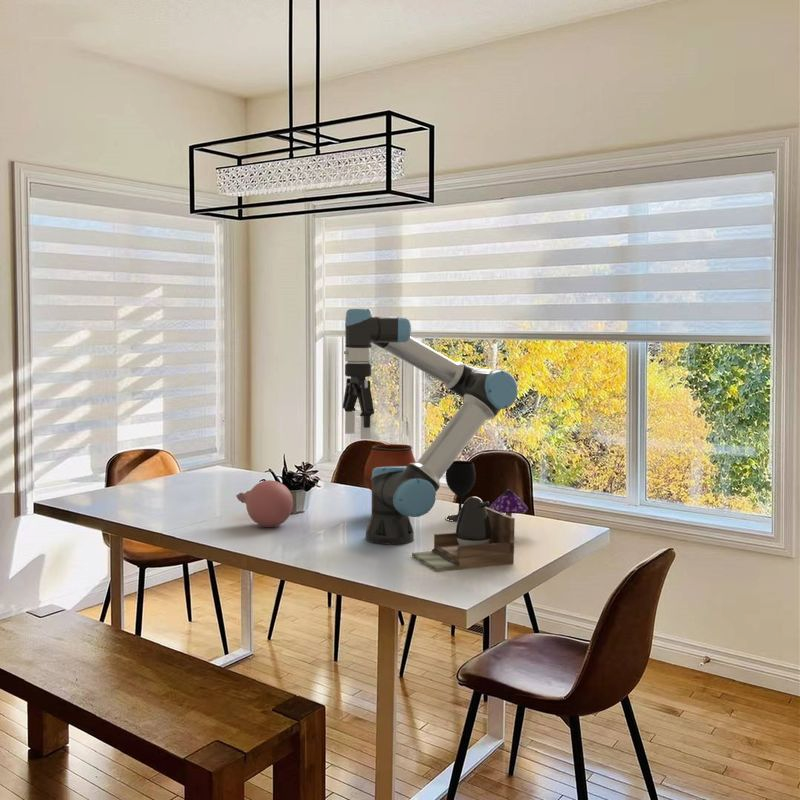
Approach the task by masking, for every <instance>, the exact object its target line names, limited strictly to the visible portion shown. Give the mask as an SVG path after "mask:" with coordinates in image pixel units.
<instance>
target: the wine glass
mask: <svg viewBox="0 0 800 800" xmlns="http://www.w3.org/2000/svg"><path fill="white" fill-rule="evenodd" d="M476 474H477V473H476V468H475V464H474V462H473V461H467V460H454V462H453V463H452V464H451V465H450V467H449V468H448V469H447V471H446V472H445V480H446V481H445V482H446V484H447V486H448V488H449V490H450V491H451V492H452V493H453V494H455V495H456V496H457V498H458V512H457V514H451V516H450V515H447V516H448V517H447V519H449V520H453V521H458V517H459V514H460V511H461V508H462V506H463V504H462V503H463V497H464V496H466V494H468V493H469V492H470V491H471V490H472V489H473V487H474V485H475V483H476V477H477V475H476Z"/></svg>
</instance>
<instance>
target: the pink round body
mask: <svg viewBox="0 0 800 800" xmlns="http://www.w3.org/2000/svg"><path fill="white" fill-rule="evenodd" d="M236 499H237V500H238V501H239V502H241V503H242V504H245V506H246V507H245V508H246V511H247V514H248V516H249V517H250V519H251V520H252V521H253V522H254V523H256V524H257V525H259V526H262V527H265V528H273V527H277V526H280V525H282V524H283V523H285V522H286V520H288V519H289V517H290V515H291V514H292V511H293V507H294V498H293V494H292V492H291V491H290V489H289V488H288V487H287V486H286V485H285V484H283V483H281V482H279V481H277V480H272V479H271V480H269V479H268V480H264V481H261V482H259V483H257V484H255V485H254V486H253V487H252V488H251V489H250V490H247V491H246V492H239V493H238V494H236Z"/></svg>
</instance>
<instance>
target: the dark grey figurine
mask: <svg viewBox="0 0 800 800" xmlns="http://www.w3.org/2000/svg"><path fill="white" fill-rule="evenodd" d="M487 506H490V502H489V501H485V502H484V501H483V499H481V498H480V497H478V496H470V497H468V498H466V500H465V501H464V503H463V504H462V508H461V511H460V514H459V517H458V521H457V522H456V527H455V532H456V537H457V541H458V543H459V545H460V546H472V545H482V544H488V543H489V540H490V538H491V527H490V521H489V517H488V513H487V510H486V507H487Z"/></svg>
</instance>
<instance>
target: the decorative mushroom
mask: <svg viewBox="0 0 800 800" xmlns="http://www.w3.org/2000/svg"><path fill="white" fill-rule="evenodd" d="M489 508H490V509H493V510H495V511H498V512H500V513H503V514H505V515H508V516H510V517H513V515H514V514H522V513H526V512H528V511H529V507H528V506H527V505H526V504H525V503H524V502H523V501H522V499H521V498H520V497H519V496H518V495H517V494H516V493H515V492H514V491H513V490H512V489H506V490H505V492H504V493H502V494H501V495H500V496H498V497H497V498H496V499H495V500H494V501H493V502H492V503H491V504H489ZM512 514H513V515H512Z"/></svg>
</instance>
